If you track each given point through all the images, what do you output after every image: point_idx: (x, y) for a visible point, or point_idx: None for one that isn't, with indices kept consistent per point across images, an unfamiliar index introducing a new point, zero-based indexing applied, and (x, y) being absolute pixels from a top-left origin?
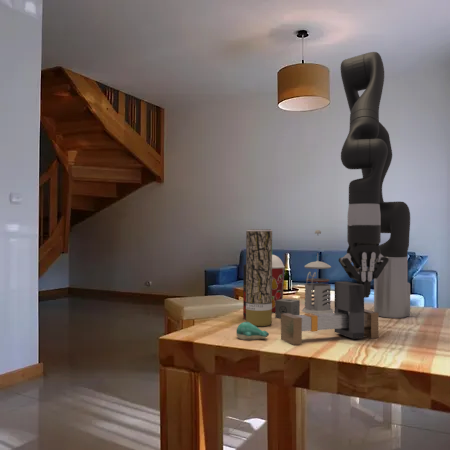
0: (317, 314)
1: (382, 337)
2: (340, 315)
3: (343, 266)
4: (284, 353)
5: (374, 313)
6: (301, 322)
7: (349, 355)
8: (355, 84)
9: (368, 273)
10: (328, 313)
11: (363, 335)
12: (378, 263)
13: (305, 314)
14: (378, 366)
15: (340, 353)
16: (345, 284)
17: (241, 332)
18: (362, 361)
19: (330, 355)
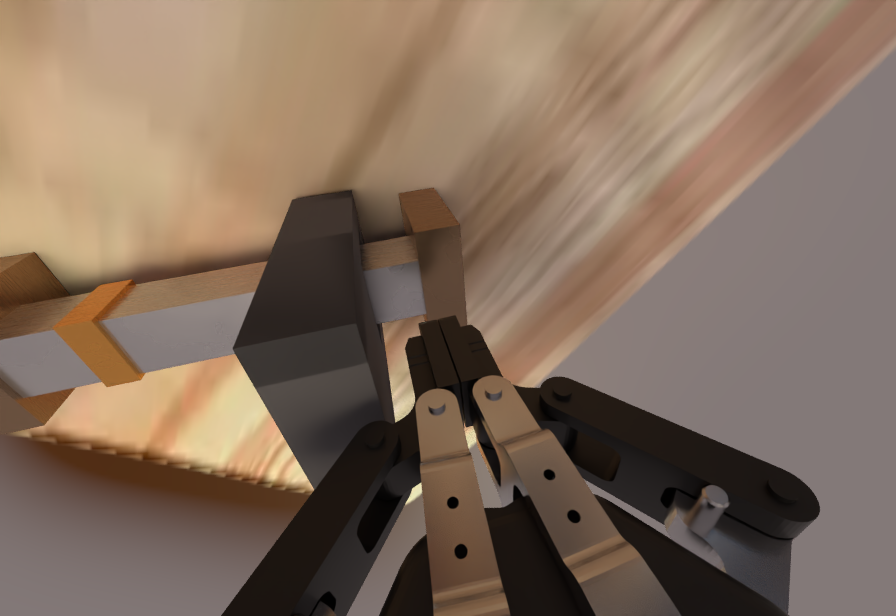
0: (146, 326)
1: (463, 271)
2: None
3: (267, 578)
4: (47, 430)
5: None
6: (57, 408)
7: (266, 436)
8: None
9: (497, 480)
10: (220, 304)
11: None
12: (671, 499)
13: (61, 334)
14: (307, 489)
15: (245, 423)
16: (294, 451)
17: None
18: (284, 468)
19: (210, 438)
